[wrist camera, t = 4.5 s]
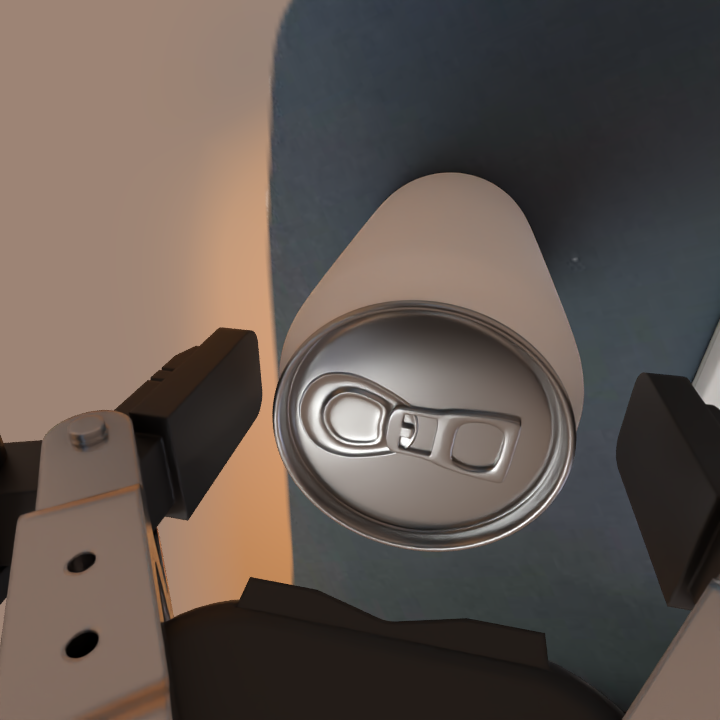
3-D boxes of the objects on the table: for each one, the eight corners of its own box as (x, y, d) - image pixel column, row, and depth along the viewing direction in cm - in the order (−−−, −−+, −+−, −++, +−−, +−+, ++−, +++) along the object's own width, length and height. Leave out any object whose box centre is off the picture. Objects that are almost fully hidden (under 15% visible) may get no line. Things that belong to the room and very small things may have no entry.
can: (374, 157, 19) (250, 245, 8) (555, 183, 18) (666, 316, 8) (356, 318, 22) (249, 528, 12) (509, 346, 21) (543, 598, 11)
